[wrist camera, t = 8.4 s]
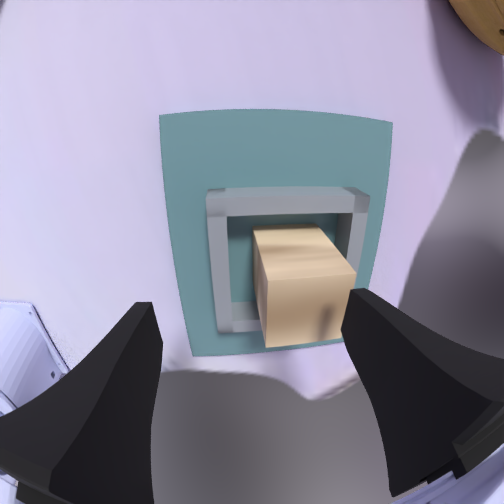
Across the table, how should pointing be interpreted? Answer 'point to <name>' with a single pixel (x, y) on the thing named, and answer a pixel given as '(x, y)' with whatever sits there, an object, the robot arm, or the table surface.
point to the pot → (483, 20)
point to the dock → (264, 205)
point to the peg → (299, 284)
